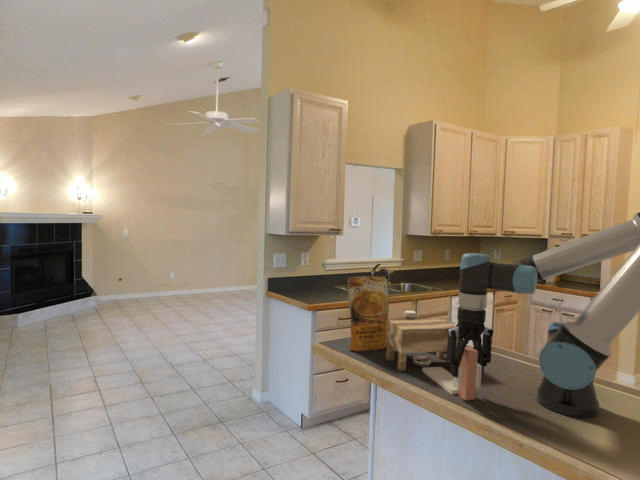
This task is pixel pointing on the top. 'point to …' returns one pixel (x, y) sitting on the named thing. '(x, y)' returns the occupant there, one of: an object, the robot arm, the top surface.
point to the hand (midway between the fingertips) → (466, 386)
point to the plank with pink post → (467, 376)
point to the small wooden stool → (417, 338)
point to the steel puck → (422, 361)
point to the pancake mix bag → (368, 312)
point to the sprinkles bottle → (410, 315)
